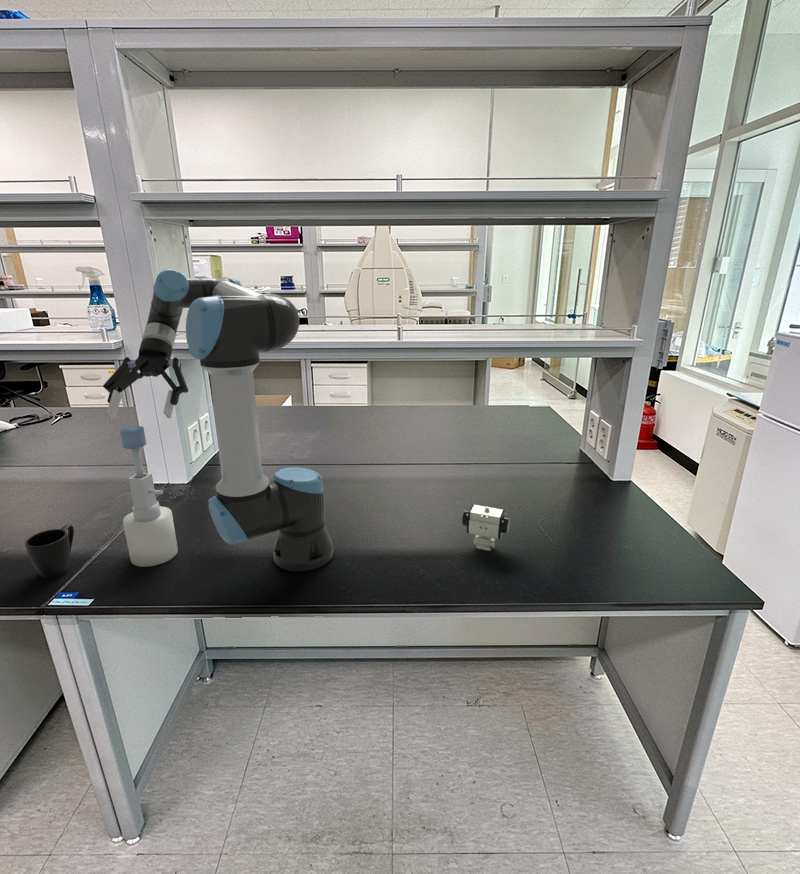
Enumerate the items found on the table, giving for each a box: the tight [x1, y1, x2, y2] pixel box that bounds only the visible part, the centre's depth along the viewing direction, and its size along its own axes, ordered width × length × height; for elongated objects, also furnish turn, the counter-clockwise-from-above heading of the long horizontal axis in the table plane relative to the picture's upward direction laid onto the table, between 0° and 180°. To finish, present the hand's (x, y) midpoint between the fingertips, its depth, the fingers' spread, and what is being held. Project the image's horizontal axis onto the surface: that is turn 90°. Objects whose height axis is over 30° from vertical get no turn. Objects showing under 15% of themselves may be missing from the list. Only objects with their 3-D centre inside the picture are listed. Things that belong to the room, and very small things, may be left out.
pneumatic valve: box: [461, 504, 511, 552], centre depth 127 cm, size 6×12×12 cm, turn 69°
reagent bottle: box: [122, 472, 179, 568], centre depth 122 cm, size 11×11×22 cm
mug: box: [24, 524, 75, 580], centre depth 118 cm, size 8×12×10 cm
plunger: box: [119, 425, 147, 479], centre depth 116 cm, size 5×5×13 cm
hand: (139, 415), depth 119 cm, fingers open, 13 cm apart
